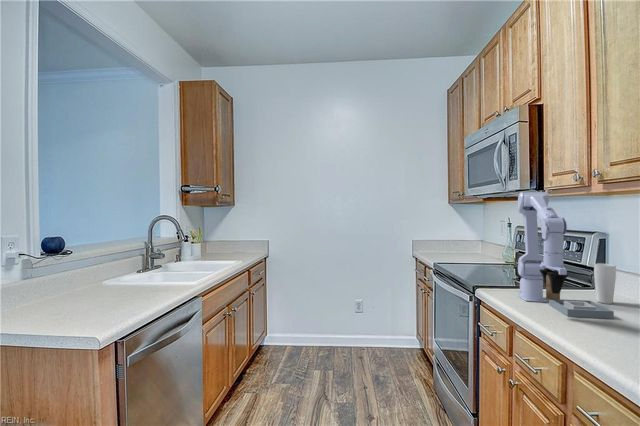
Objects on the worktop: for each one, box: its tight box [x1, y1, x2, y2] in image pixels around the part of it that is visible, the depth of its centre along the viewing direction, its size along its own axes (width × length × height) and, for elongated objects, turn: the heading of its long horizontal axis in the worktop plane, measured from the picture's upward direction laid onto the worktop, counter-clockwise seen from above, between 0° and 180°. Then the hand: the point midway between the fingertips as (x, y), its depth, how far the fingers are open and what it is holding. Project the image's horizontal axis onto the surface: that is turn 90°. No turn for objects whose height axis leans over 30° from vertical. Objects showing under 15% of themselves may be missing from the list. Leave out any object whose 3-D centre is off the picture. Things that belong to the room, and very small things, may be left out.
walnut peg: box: [545, 275, 561, 300], centre depth 121 cm, size 4×4×8 cm
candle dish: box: [548, 298, 615, 320], centre depth 127 cm, size 14×14×3 cm
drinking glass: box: [593, 263, 617, 305], centre depth 138 cm, size 7×7×15 cm
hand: (552, 291), depth 121 cm, fingers closed on walnut peg, 4 cm apart
